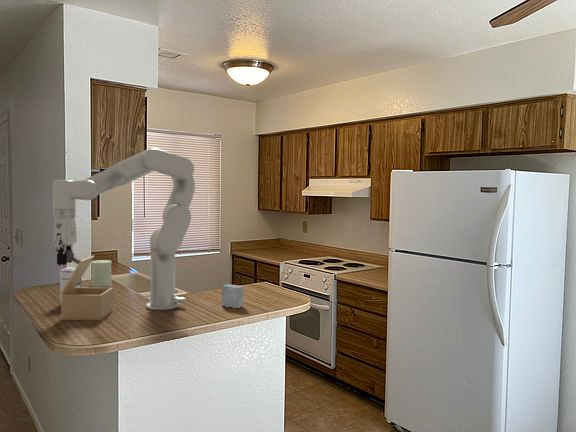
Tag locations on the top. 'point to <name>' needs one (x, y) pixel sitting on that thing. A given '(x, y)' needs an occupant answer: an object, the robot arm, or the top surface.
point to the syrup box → (66, 278)
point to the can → (101, 273)
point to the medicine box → (232, 296)
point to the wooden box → (86, 303)
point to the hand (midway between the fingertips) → (64, 263)
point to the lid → (76, 270)
